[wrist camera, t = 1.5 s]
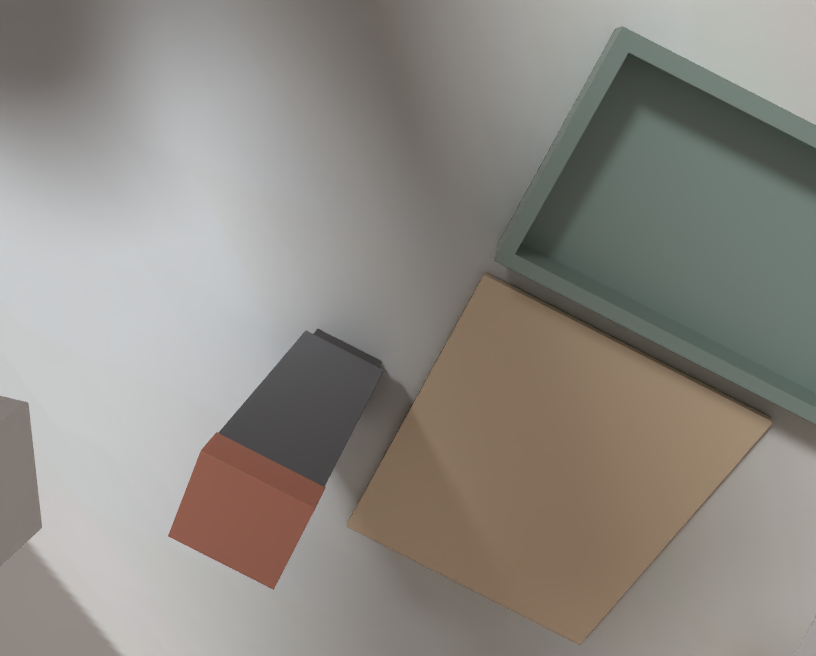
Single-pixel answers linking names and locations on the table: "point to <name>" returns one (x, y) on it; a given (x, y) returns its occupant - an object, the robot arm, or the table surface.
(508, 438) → the tan board
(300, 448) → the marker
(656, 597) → the table surface
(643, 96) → the tray
